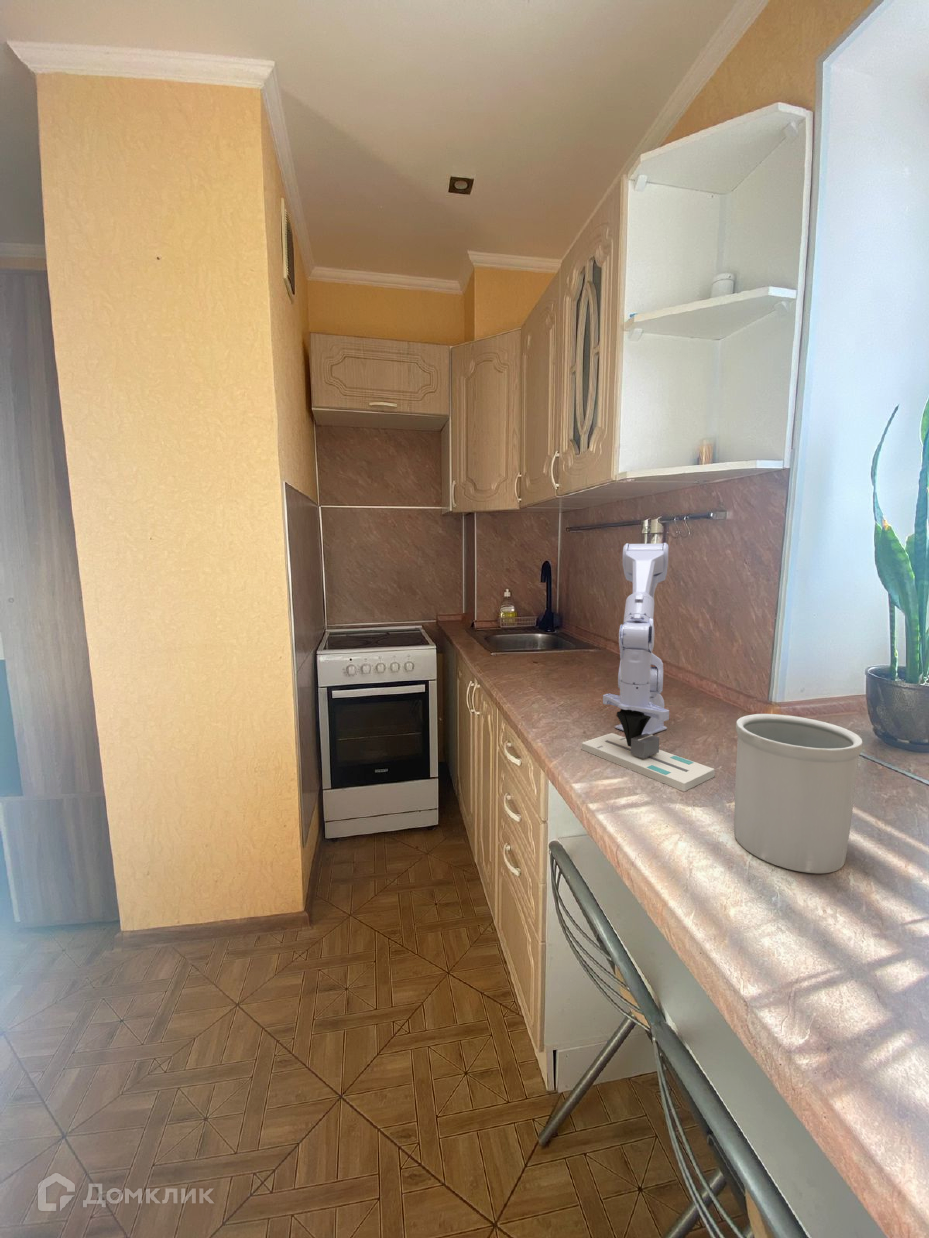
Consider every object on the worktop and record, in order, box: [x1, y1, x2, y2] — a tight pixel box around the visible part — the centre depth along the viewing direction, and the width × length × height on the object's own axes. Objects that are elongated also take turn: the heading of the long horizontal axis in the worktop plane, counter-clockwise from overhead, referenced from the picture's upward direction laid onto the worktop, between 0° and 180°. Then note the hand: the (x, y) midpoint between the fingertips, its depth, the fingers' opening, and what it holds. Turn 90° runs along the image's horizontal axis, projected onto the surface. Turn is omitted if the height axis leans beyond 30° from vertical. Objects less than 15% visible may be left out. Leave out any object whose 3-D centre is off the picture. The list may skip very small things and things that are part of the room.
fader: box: [631, 733, 660, 759], centre depth 102 cm, size 5×3×3 cm, turn 125°
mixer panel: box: [580, 732, 716, 792], centre depth 103 cm, size 10×24×2 cm, turn 35°
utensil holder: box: [733, 713, 863, 874], centre depth 73 cm, size 15×15×18 cm
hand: (632, 745), depth 105 cm, fingers closed
